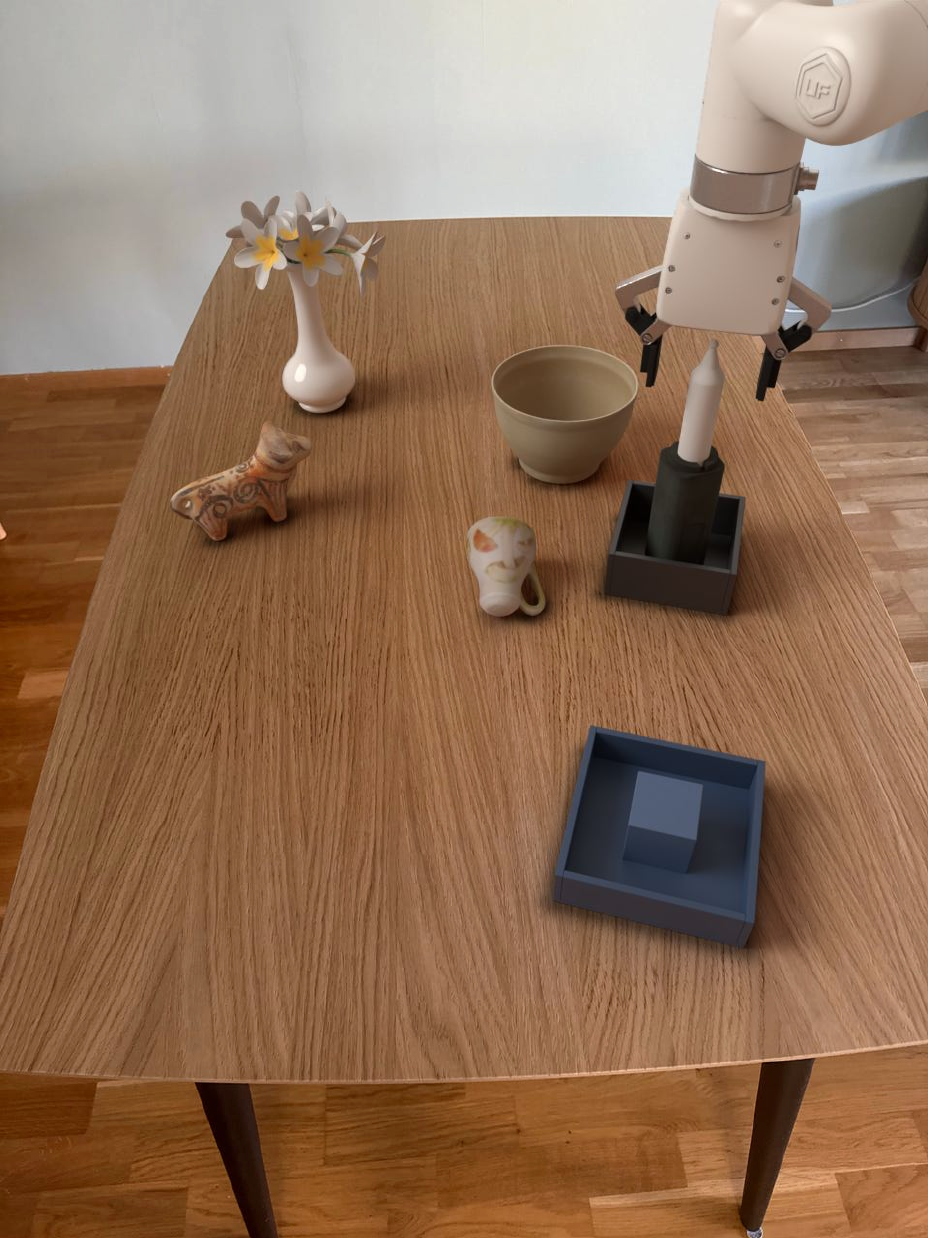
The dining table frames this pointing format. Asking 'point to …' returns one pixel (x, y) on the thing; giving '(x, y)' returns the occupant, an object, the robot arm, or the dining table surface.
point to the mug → (503, 564)
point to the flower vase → (306, 288)
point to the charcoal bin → (670, 578)
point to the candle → (689, 473)
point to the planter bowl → (563, 409)
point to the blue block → (663, 822)
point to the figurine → (245, 483)
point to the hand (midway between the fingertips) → (705, 385)
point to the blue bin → (687, 903)
